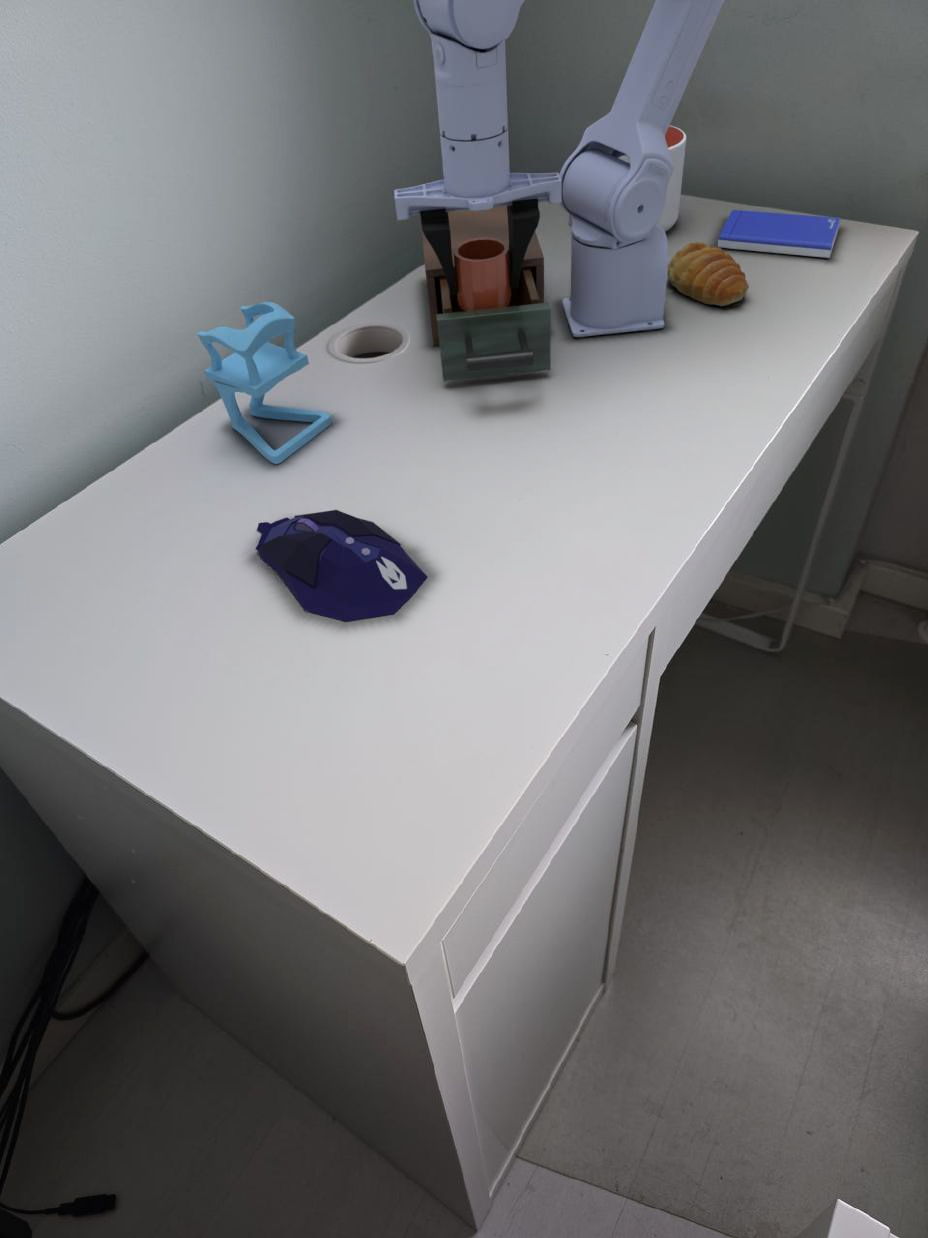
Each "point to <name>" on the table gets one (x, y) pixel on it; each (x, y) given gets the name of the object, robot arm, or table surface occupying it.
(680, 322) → the table surface
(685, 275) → the pastry
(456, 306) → the drawer
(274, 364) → the chair
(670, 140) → the cup
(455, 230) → the cabinet
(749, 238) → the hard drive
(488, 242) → the small cup
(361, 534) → the computer mouse
